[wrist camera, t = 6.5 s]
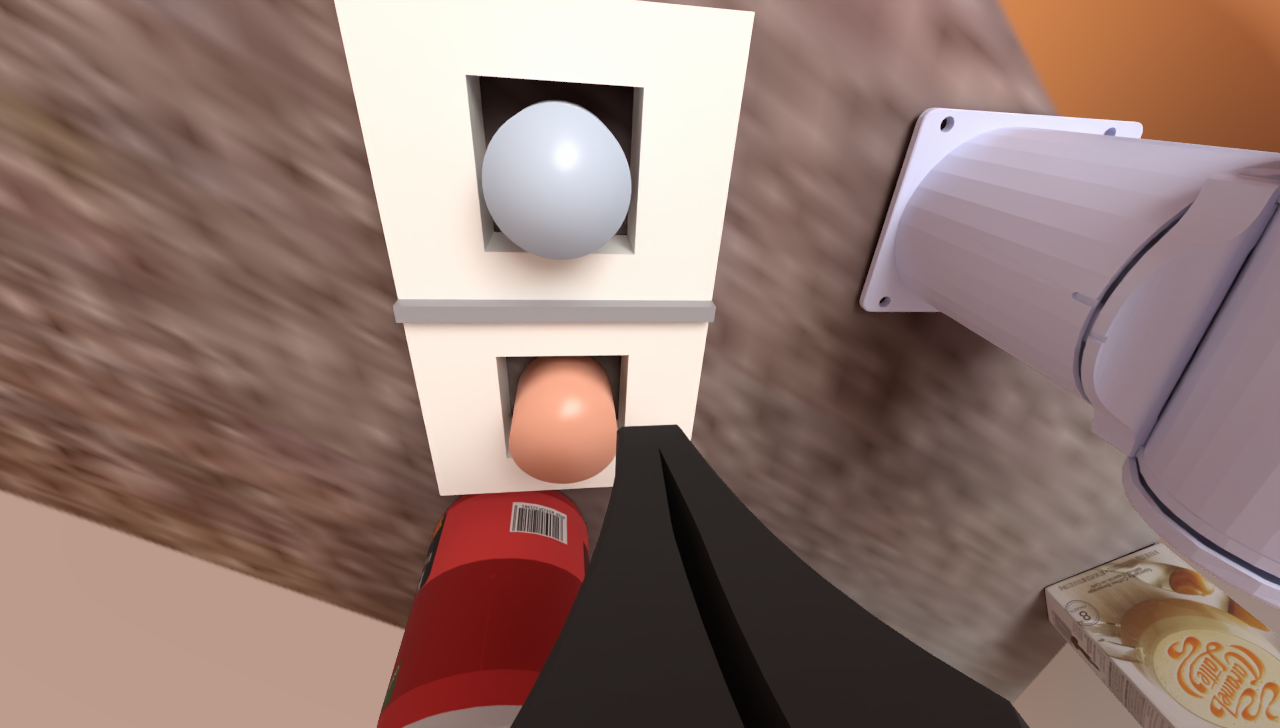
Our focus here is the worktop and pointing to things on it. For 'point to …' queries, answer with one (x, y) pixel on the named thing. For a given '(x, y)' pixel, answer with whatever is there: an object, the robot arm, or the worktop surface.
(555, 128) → the pale blue rounded piece
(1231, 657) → the coffee box
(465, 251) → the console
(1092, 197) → the robot arm
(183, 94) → the worktop surface
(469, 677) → the canned food
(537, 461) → the orange rounded piece
